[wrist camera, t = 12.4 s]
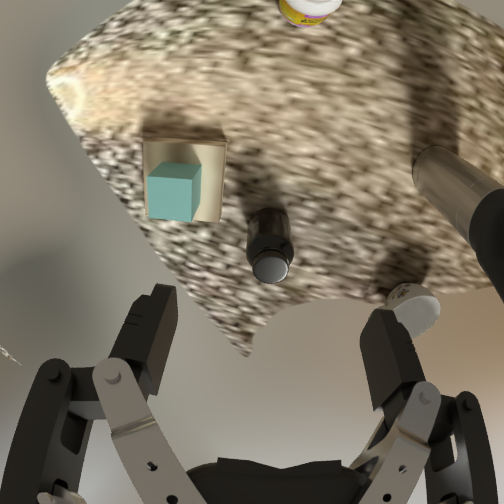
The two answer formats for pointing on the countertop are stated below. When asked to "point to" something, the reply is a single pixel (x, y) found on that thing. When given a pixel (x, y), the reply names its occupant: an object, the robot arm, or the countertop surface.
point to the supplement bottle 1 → (269, 245)
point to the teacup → (413, 307)
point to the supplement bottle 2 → (307, 11)
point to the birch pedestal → (191, 153)
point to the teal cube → (174, 191)
